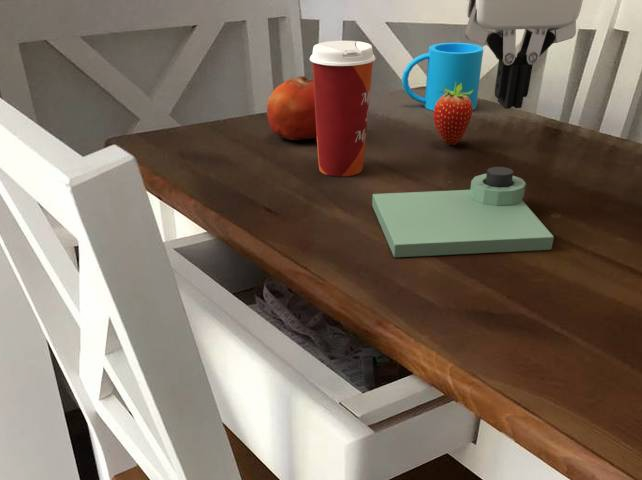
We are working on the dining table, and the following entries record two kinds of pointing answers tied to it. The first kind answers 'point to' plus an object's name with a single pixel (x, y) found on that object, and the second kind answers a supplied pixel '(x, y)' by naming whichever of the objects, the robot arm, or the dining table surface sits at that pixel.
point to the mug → (448, 71)
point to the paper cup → (341, 104)
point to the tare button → (499, 177)
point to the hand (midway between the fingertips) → (509, 104)
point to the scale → (461, 221)
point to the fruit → (453, 114)
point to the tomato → (293, 109)
